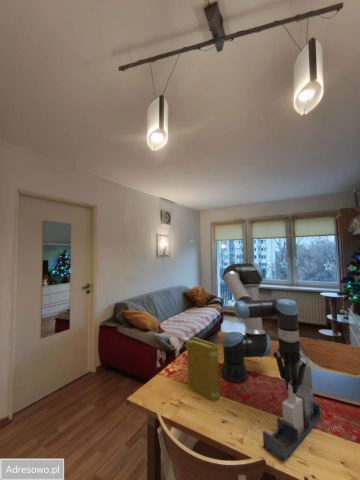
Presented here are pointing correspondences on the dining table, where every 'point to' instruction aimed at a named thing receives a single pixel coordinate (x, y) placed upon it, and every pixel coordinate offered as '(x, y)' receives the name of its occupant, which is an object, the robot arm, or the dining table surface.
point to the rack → (293, 428)
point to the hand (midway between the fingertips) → (292, 399)
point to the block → (293, 413)
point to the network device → (305, 373)
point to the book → (203, 368)
